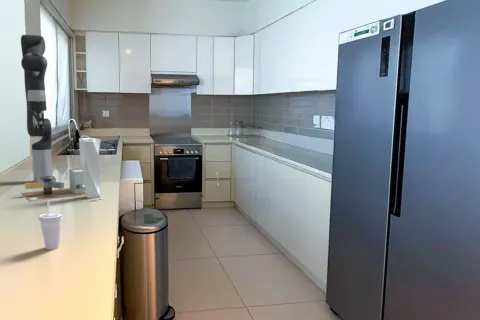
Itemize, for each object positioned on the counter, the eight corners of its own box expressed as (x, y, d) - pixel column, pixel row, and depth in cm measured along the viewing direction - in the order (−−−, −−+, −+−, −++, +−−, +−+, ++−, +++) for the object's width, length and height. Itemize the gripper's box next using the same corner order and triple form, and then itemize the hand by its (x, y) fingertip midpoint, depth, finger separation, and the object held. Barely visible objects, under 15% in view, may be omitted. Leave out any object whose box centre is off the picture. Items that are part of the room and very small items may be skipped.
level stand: (70, 190, 203) (69, 169, 202) (79, 189, 206) (78, 168, 204) (76, 194, 195) (75, 172, 194) (86, 193, 197) (85, 171, 196)
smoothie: (45, 244, 131) (42, 198, 129) (67, 243, 132) (64, 198, 130) (37, 251, 125) (34, 203, 123) (60, 250, 125) (57, 203, 124)
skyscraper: (85, 202, 186) (82, 136, 182) (82, 198, 192) (79, 134, 188) (104, 200, 189) (101, 135, 185) (101, 196, 196) (98, 134, 192)
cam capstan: (22, 192, 197) (21, 176, 196) (56, 189, 205) (55, 173, 204) (29, 199, 183) (28, 182, 182) (65, 195, 192) (64, 178, 191)
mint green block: (33, 198, 187) (33, 197, 187) (38, 198, 186) (38, 197, 186) (28, 199, 184) (28, 199, 184) (33, 200, 183) (33, 199, 183)
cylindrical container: (100, 190, 209) (98, 138, 206) (89, 193, 203) (87, 139, 199) (89, 189, 212) (87, 137, 209) (78, 192, 206) (75, 139, 202)
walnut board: (21, 195, 198) (20, 192, 198) (75, 189, 211) (75, 187, 211) (29, 204, 181) (29, 201, 181) (88, 197, 194) (88, 194, 194)
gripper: (25, 100, 204) (27, 135, 206) (30, 100, 192) (32, 137, 194) (42, 100, 208) (45, 134, 210) (48, 100, 196) (51, 136, 198)
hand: (39, 135), depth 202 cm, fingers open, 8 cm apart
